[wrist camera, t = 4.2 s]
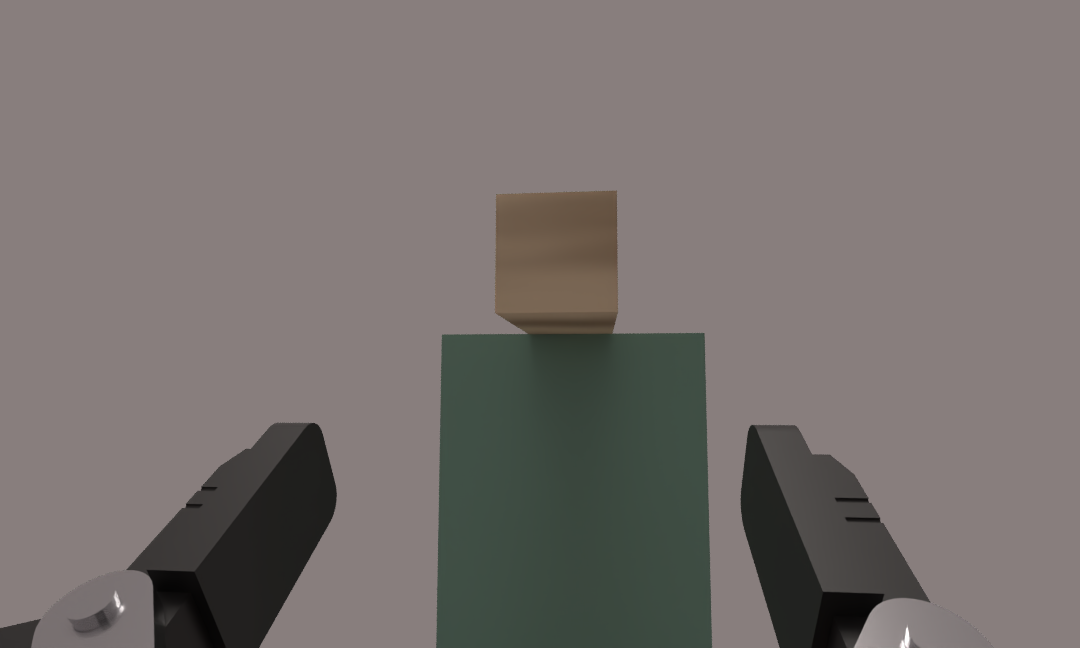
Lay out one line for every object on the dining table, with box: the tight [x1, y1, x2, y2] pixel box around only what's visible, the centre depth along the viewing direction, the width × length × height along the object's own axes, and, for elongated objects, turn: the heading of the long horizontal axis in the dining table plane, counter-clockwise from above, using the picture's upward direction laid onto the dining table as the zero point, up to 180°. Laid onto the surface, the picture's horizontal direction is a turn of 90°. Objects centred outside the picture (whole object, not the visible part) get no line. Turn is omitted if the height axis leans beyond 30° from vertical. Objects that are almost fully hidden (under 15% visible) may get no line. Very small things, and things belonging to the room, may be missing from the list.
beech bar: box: [495, 191, 618, 334], centre depth 26 cm, size 19×4×4 cm, turn 174°
